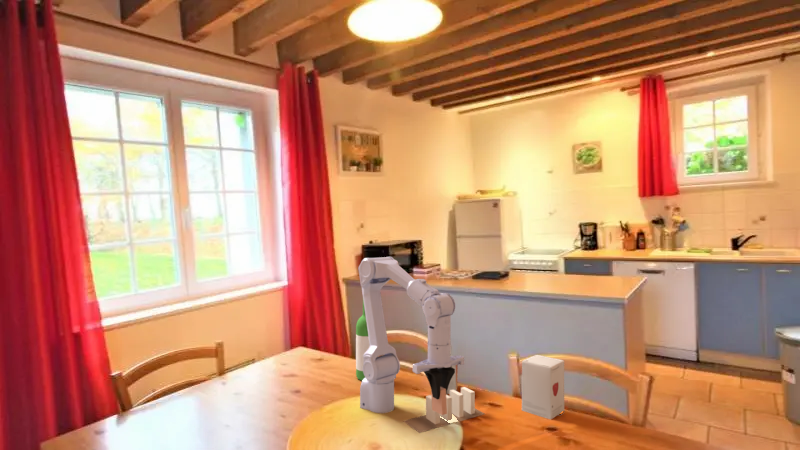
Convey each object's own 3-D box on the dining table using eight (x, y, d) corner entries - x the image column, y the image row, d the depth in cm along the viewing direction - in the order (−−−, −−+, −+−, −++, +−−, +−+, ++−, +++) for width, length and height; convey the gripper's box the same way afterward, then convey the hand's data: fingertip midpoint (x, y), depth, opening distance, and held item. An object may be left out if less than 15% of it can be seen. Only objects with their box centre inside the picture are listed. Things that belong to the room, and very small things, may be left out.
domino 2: (435, 424, 116) (435, 401, 116) (426, 418, 119) (425, 396, 120) (439, 423, 116) (439, 400, 116) (430, 417, 120) (430, 395, 120)
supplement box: (551, 422, 118) (551, 367, 118) (521, 413, 125) (520, 360, 125) (565, 412, 125) (565, 359, 125) (536, 403, 131) (535, 353, 131)
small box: (456, 397, 137) (456, 363, 137) (438, 395, 138) (438, 362, 138) (458, 387, 144) (458, 355, 145) (441, 386, 146) (441, 354, 146)
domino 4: (459, 417, 120) (459, 395, 120) (449, 411, 124) (449, 390, 124) (463, 416, 120) (463, 394, 121) (453, 410, 124) (453, 389, 124)
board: (419, 435, 111) (419, 432, 111) (402, 423, 118) (402, 420, 118) (485, 416, 122) (485, 413, 122) (466, 406, 129) (466, 404, 129)
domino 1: (442, 414, 108) (441, 389, 108) (432, 409, 111) (431, 385, 112) (446, 413, 108) (445, 388, 109) (436, 408, 112) (435, 384, 113)
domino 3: (447, 420, 118) (447, 398, 118) (438, 414, 122) (438, 393, 122) (451, 419, 118) (451, 397, 118) (442, 413, 122) (442, 392, 122)
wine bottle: (353, 376, 156) (352, 291, 156) (373, 373, 159) (373, 290, 160) (360, 383, 149) (360, 294, 149) (381, 379, 152) (381, 293, 152)
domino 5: (470, 414, 122) (470, 392, 122) (460, 408, 126) (460, 387, 126) (474, 413, 123) (474, 391, 123) (464, 407, 126) (464, 386, 126)
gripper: (424, 350, 103) (424, 408, 103) (471, 342, 110) (472, 396, 110) (408, 343, 109) (408, 398, 109) (454, 336, 116) (454, 387, 116)
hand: (439, 397), depth 110 cm, fingers closed on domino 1, 1 cm apart
